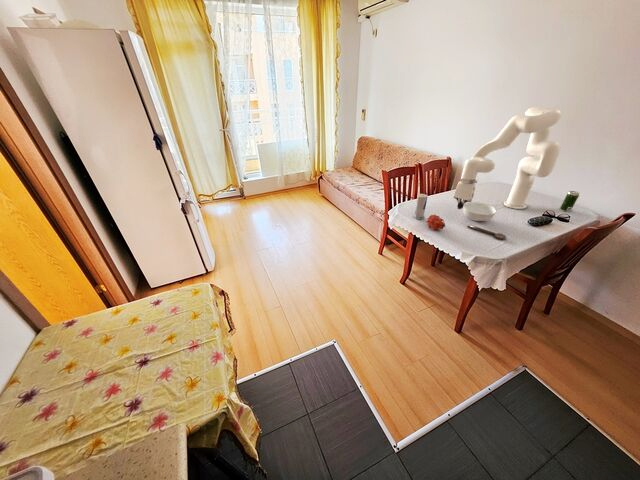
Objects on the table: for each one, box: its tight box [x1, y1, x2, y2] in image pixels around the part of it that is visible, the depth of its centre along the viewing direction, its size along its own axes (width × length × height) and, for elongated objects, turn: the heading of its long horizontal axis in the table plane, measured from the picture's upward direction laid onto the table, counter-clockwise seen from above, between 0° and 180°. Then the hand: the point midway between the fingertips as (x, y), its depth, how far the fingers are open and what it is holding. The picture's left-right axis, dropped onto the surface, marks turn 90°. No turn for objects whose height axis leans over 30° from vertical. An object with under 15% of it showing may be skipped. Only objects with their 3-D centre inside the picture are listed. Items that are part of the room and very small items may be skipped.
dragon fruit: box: [425, 214, 446, 232], centre depth 147 cm, size 8×8×12 cm
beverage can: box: [413, 193, 428, 220], centre depth 157 cm, size 6×6×15 cm
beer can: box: [559, 190, 581, 213], centre depth 156 cm, size 5×5×12 cm
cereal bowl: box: [462, 202, 497, 222], centre depth 154 cm, size 17×17×7 cm
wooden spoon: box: [467, 224, 507, 241], centre depth 141 cm, size 20×5×2 cm, turn 41°
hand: (459, 208), depth 161 cm, fingers closed
